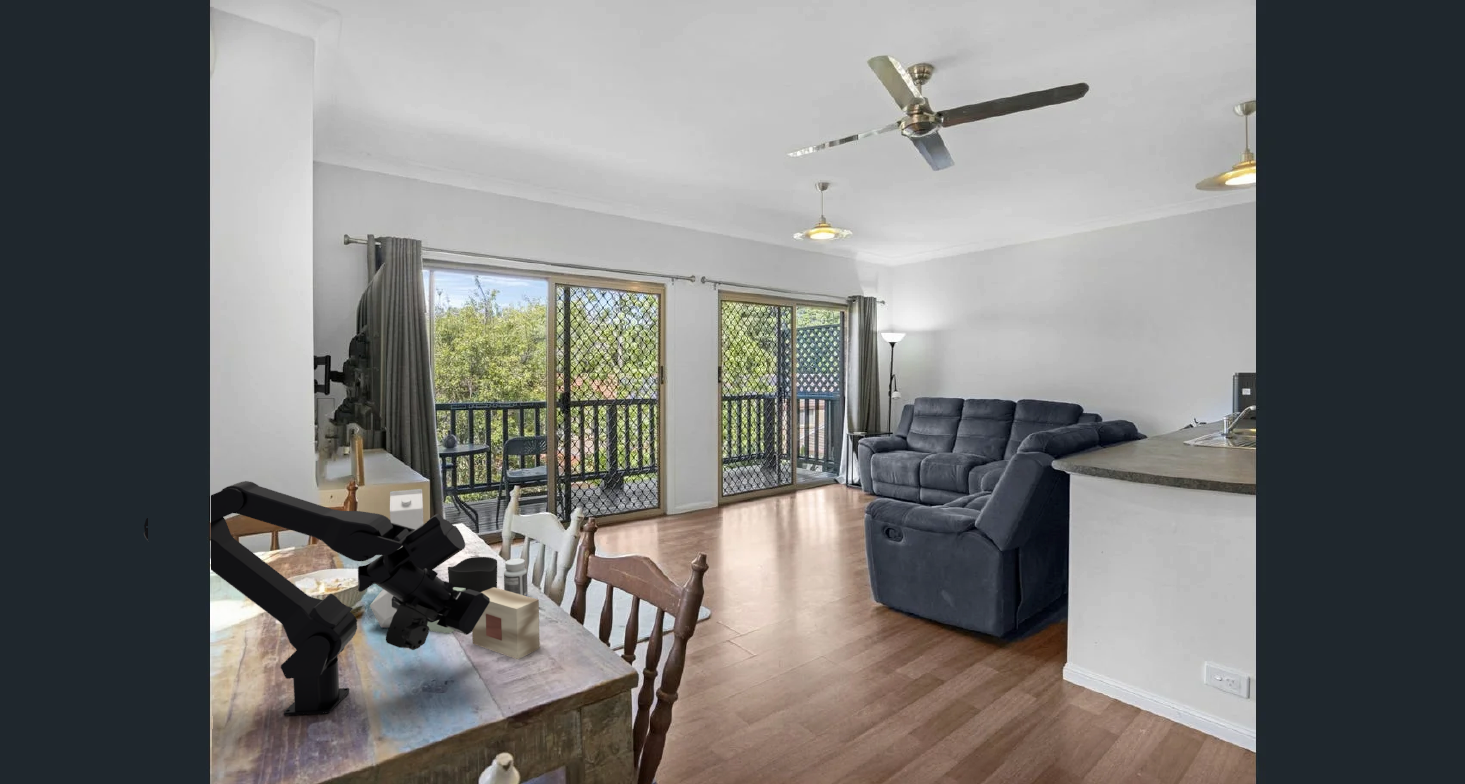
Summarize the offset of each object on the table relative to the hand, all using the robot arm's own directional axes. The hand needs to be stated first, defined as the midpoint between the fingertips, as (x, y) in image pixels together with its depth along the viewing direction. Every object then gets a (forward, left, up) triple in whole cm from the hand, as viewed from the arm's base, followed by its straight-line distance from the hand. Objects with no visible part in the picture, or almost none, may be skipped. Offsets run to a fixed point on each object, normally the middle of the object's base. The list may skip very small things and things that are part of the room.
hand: (471, 624), depth 112 cm
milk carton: (+53, +31, -7) cm, 62 cm away
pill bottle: (+28, -1, -7) cm, 29 cm away
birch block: (+6, -4, -7) cm, 10 cm away
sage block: (+15, +9, -7) cm, 19 cm away
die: (+17, +19, -7) cm, 27 cm away
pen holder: (+22, +6, -7) cm, 24 cm away
